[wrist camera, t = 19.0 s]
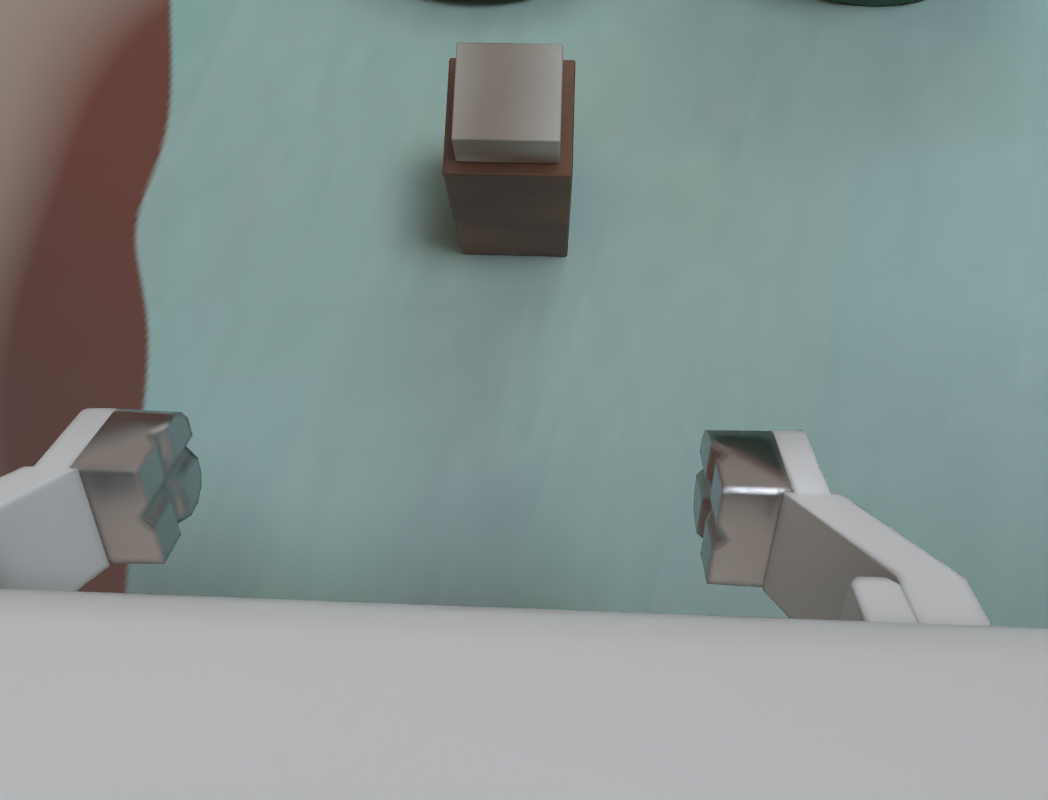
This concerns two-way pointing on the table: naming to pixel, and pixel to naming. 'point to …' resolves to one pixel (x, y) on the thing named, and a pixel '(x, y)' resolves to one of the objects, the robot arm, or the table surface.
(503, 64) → the brown and white block
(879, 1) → the pot
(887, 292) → the table surface
